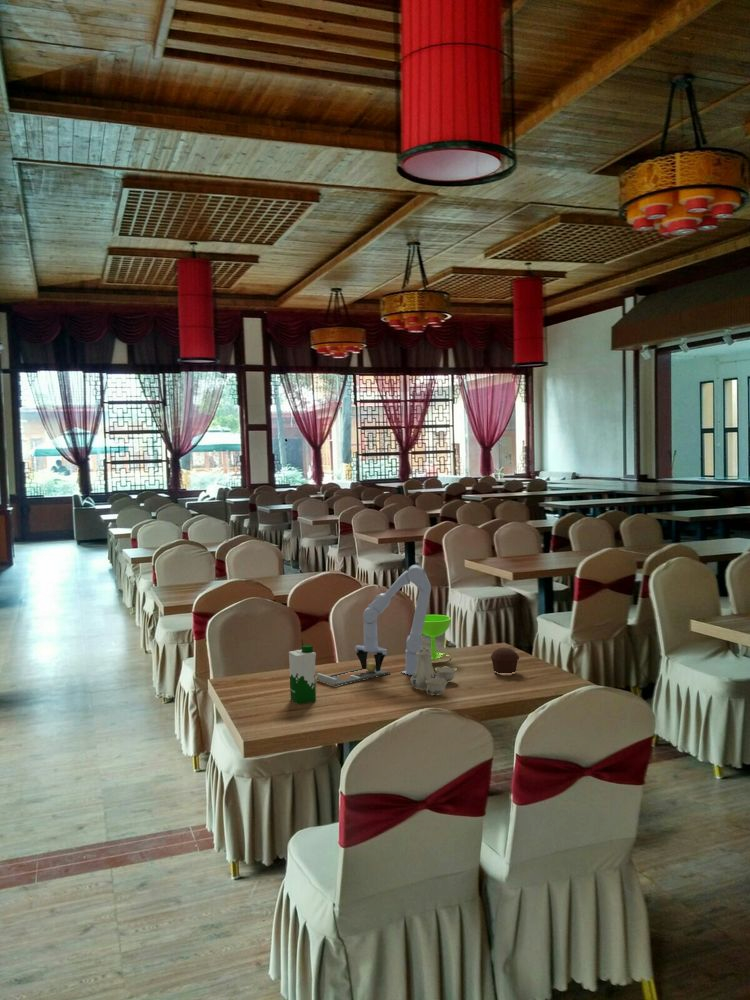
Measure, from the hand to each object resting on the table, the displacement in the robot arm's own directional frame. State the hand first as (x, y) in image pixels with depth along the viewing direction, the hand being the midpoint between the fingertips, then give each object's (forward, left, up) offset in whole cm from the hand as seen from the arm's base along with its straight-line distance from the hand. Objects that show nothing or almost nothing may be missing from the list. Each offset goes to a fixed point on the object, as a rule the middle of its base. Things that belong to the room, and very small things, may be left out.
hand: (371, 669), depth 333 cm
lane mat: (0, +9, -2) cm, 9 cm away
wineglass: (0, -35, -2) cm, 35 cm away
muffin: (-37, -40, -2) cm, 55 cm away
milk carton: (-12, +42, -2) cm, 44 cm away
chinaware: (-32, -4, -2) cm, 32 cm away
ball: (0, 0, +1) cm, 1 cm away
